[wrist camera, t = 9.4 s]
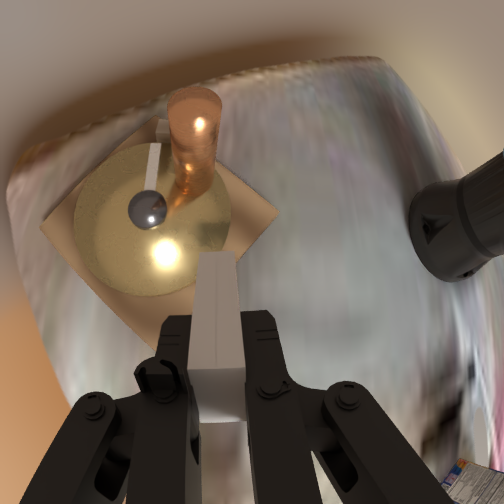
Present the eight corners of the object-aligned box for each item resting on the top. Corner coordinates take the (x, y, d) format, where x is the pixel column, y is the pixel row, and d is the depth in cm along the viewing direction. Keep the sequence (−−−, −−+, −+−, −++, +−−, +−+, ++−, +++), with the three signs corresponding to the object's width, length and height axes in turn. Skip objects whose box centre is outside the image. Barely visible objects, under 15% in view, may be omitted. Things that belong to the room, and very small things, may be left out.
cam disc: (61, 192, 31) (7, 127, 18) (186, 128, 35) (186, 44, 22) (116, 326, 28) (59, 322, 15) (259, 247, 33) (296, 194, 20)
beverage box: (459, 458, 32) (560, 485, 11) (478, 477, 31) (564, 502, 10) (434, 491, 30) (530, 533, 9) (456, 507, 30) (538, 541, 8)
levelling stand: (157, 124, 37) (153, 99, 32) (275, 217, 36) (286, 201, 32) (46, 232, 31) (27, 218, 27) (159, 351, 31) (152, 355, 26)
